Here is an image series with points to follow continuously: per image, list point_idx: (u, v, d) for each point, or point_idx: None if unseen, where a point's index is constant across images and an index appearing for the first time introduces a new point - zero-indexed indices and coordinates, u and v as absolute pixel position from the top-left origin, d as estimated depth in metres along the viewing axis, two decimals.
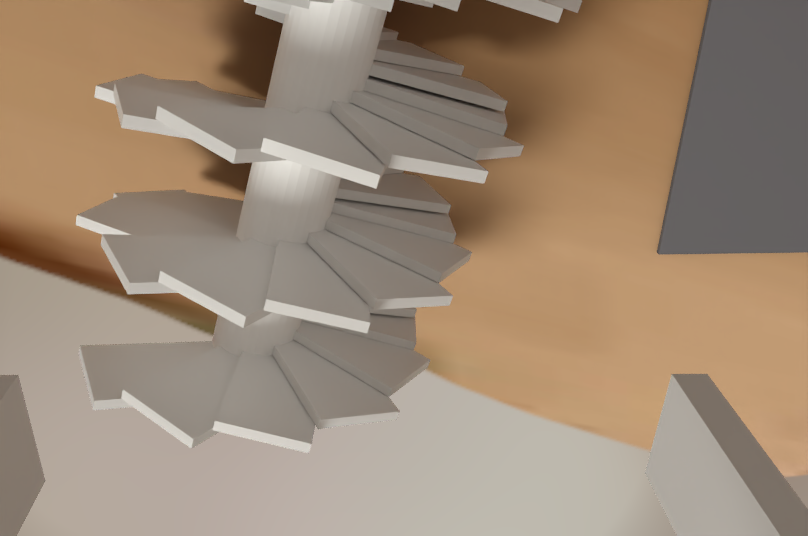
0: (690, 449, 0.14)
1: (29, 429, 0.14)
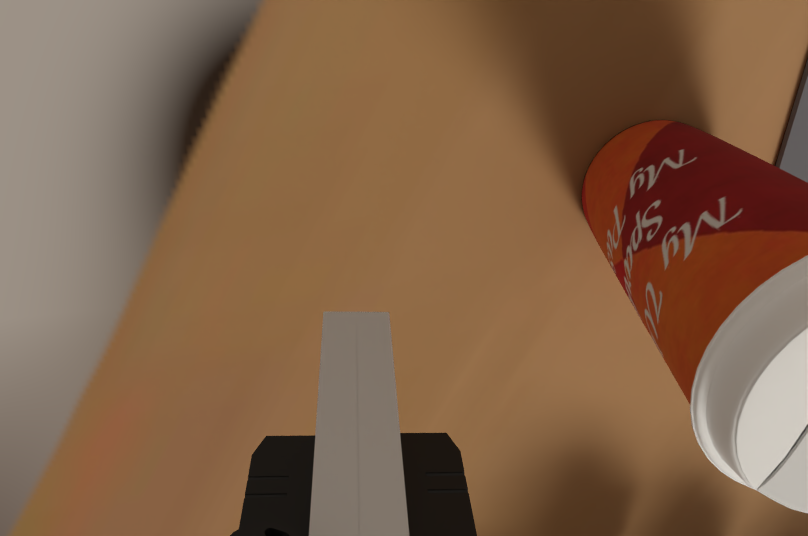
0: None
1: None
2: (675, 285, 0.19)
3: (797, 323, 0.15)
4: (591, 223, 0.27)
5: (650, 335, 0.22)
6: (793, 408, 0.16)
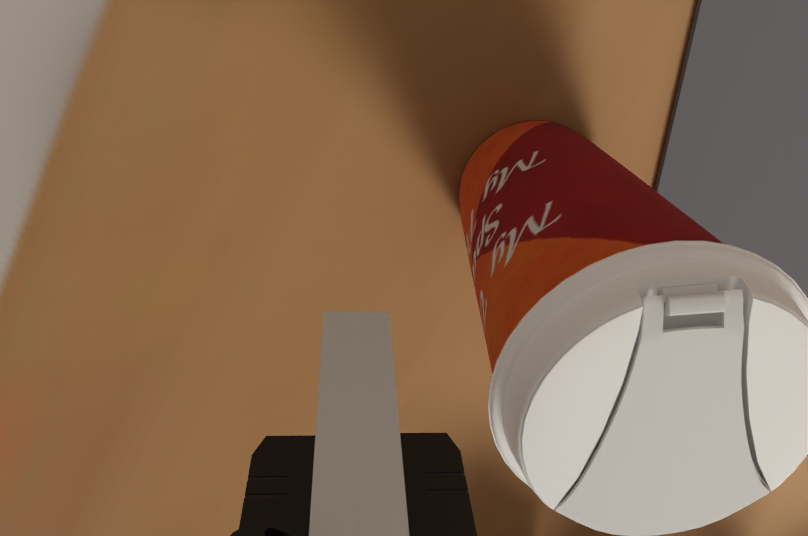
0: None
1: None
2: (494, 293, 0.18)
3: (570, 337, 0.14)
4: None
5: None
6: (578, 426, 0.15)
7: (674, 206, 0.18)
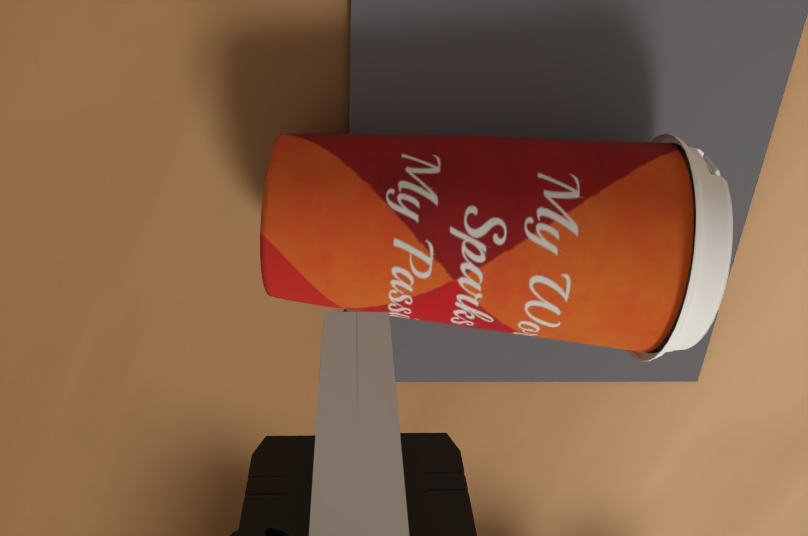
0: None
1: None
2: (585, 259, 0.21)
3: (728, 220, 0.21)
4: (315, 280, 0.22)
5: (512, 323, 0.22)
6: None
7: None
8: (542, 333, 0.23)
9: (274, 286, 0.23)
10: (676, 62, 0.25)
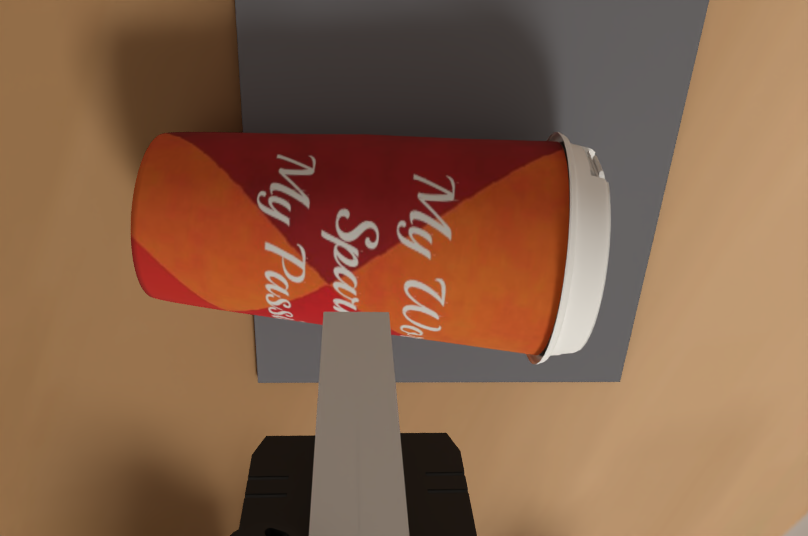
0: None
1: None
2: (459, 263, 0.20)
3: (605, 224, 0.20)
4: (191, 283, 0.21)
5: (394, 327, 0.22)
6: None
7: None
8: (427, 336, 0.22)
9: (152, 289, 0.22)
10: (575, 56, 0.25)
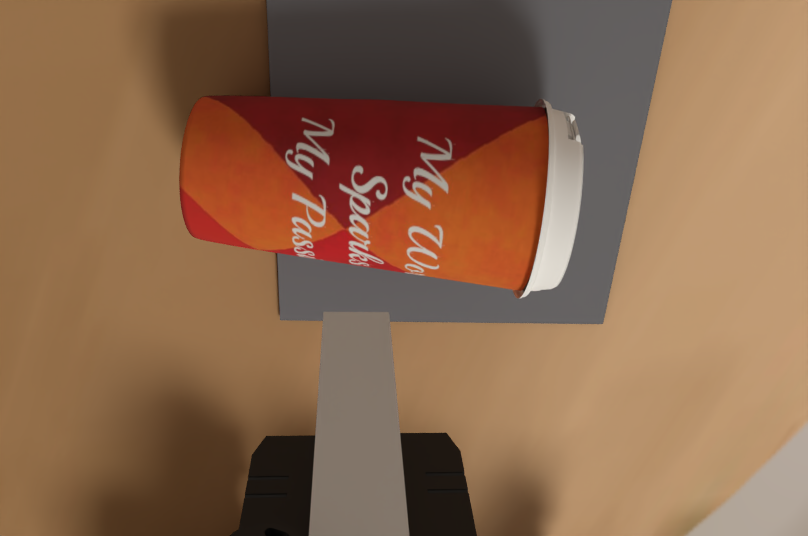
0: None
1: None
2: (454, 213, 0.24)
3: (578, 181, 0.24)
4: (229, 226, 0.26)
5: (400, 265, 0.26)
6: None
7: None
8: (427, 274, 0.27)
9: (196, 231, 0.26)
10: (560, 26, 0.28)
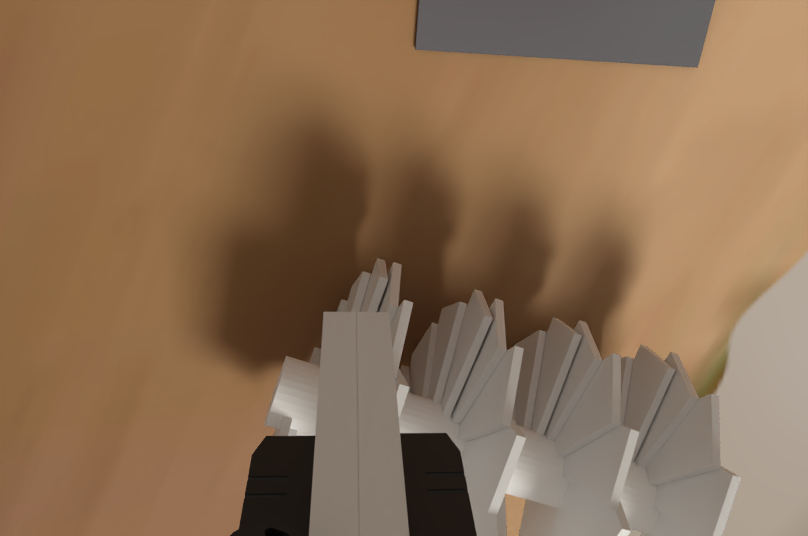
0: None
1: None
2: None
3: None
4: None
5: None
6: None
7: None
8: None
9: None
10: None
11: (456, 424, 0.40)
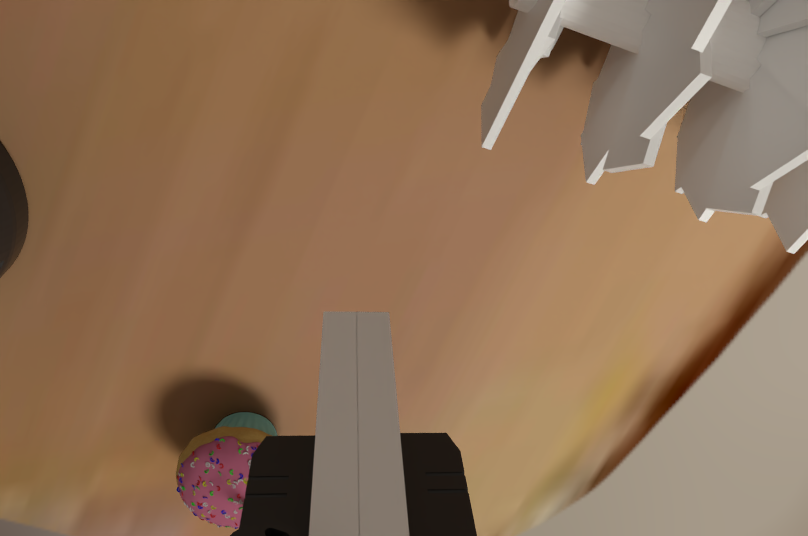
0: None
1: None
2: None
3: None
4: None
5: None
6: None
7: None
8: None
9: None
10: None
11: (745, 0, 0.33)
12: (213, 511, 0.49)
